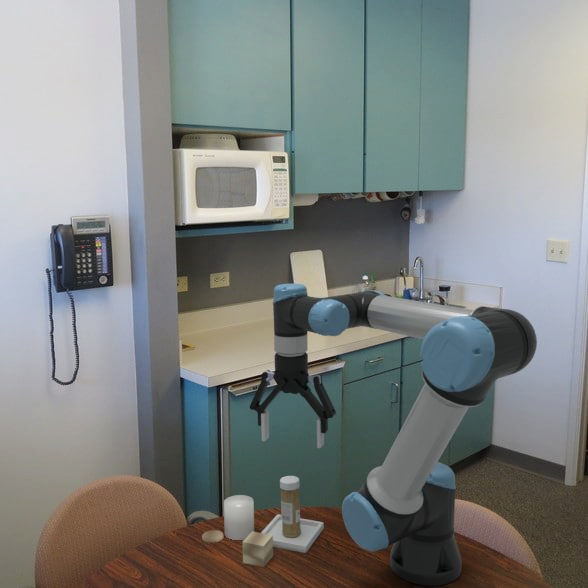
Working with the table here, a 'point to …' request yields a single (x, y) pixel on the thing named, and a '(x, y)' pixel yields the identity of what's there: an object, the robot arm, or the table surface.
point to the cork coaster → (212, 536)
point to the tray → (300, 542)
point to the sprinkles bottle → (290, 506)
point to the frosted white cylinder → (238, 517)
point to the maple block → (258, 549)
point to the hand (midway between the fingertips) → (292, 442)
